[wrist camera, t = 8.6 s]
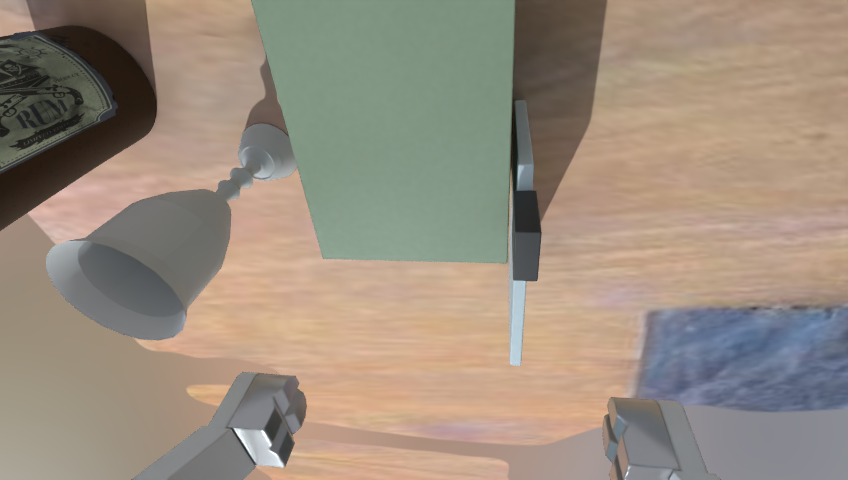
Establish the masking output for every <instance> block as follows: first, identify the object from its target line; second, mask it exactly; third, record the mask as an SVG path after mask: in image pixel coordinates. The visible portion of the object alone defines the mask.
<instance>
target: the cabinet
mask: <svg viewBox="0 0 848 480" xmlns="http://www.w3.org/2000/svg"><path fill="white" fill-rule="evenodd" d="M515 1H516V0H251V2H252V5H253V9H254V12H255V16H256V20H257V23H258V27H259V30H260V34H261V38H262V41H263V45H264V48H265V52H266V56H267V59H268V63H269V66H270V70H271V74H272V77H273V81H274V84H275V88H276V92H277V95H278V99H279V102H280V106H281V110H282V113H283V117H284V120H285V124H286V128H287V131H288V135H289V138H290V142H291V146H292V149H293V153H294V156H295V160H296V164H297V167H298V171H299V174H300V178H301V182H302V185H303V189H304V192H305V196H306V200H307V203H308V207H309V210H310V214H311V218H312V221H313V225H314V228H315V232H316V235H317V239H318V243H319V246H320V250H321V253H322V257H323V259H350V260H389V261H428V262H468V263H507V258H508V226H509V193H510V161H511V129H512V97H513V65H514V33H515Z"/></svg>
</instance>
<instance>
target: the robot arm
mask: <svg viewBox="0 0 848 480" xmlns="http://www.w3.org/2000/svg"><path fill="white" fill-rule="evenodd" d="M298 385H299V382H298V380H297V378H296V376H290V375H277V374H276V375H275V374H264V373H254V372H242V373H241V374H240V375H238V376H237V377H236V379H235V381H234V382H233V384H232V386H231V388H230V389H229V391H228V393H227V394H226V396H225V398H224V399H223V401H222V403H221V404H220V406H219V408H218V410H217V411H216V413H215V415H214V416H213V418H212V420H211V421H210V423H209V425H208V426H202V427H201V428H199V429H198V430H197V431H195V432H194V433H193V434H191V435H190V436H189V437H188V438H186V439H185V440H183V441H182V442H181V443H179V444H178V445H177V446H176V447H174V448H173V449H171V450H170V451H169V452H167V453H166V454H165V455H164V456H162V457H161V458H160V459H158V460H157V461H156V462H154V463H153V464H152V465H150V466H149V467H148V468H146V469H145V470H144V471H142V472H141V473H140V474H138V475H137V476H136V477H134V478H133V479H132V480H244V479H245V478H246V477H247V476H248V475H249V474H250V473H251V471H252V470H254V468H255V467H256V466H255V465H259V466H272V467H285V466H286V464H287V461H288V459H289V456H290V454H291V451H292V449H293V446H294V444H295V442H294V438H293V434H294V433H295V432H296V431H298V430H299V429H300V428H301V426H302V423H303V421H304V418H305V413H306V407H307V405H306V398H305V395H304V393H303V392H301V391H300V390H299V389H297V387H298ZM607 407H608V412H609V414H607V415H605V416H604V421H603V444H604V449H605V455H606V456H607V458H608V459H609V460H610V461H611V462H612V466H611V470H610V473H609V476H610V480H721V479H720V478H719V477H718V476H717V475H715V474H709V473H708V471H707V469H706V466H705V464H704V461H703V458H702V456H701V453H700V450H699V447H698V445H697V442H696V440H695V437H694V434H693V432H692V429H691V426H690V424H689V421H688V418H687V416H686V413H685V410H684V408H683V406H682V405H681V404H680V403H679V402H677V401H660V400H654V399H635V398H616V397H611V398H610V399H609V401H608V405H607Z"/></svg>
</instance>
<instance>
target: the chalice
mask: <svg viewBox="0 0 848 480" xmlns="http://www.w3.org/2000/svg"><path fill="white" fill-rule="evenodd" d="M238 157H239V161H240V163H241V166H242V167H243V168H234V169H232V170H231V172H230V177H231V179H230V180H228V181H227V180H223V181H220V182H219V184H218V190H217V191H216V193H215V192H213V191H210V190H206V189H199V190H189V191H179V192H169V193H165V194H161V195H158V196H154V197H150V198H146V199H142V200H140V201H137V202H135V203H132V204H131V205H129V206H128V207H127V208H125V209H124V210H123V211H121V212H120V213H118V214H117V215H116V216H114V217H113V218H112V219H110V220H109V221H107V222H106V223H105V224H103V225H102V226H101V227H99V228H98V229H96V230H95V231H94V232H92V233H91V234H90V235H88V236H87V237H86V238H82V239H76V240H70V241H66V242H63V243H61V244H58V245H55V246H53V248H52V249H51V250H50V252H49V253H48V255H47V256H46V269H47V272H48V274H49V277H50V279H51V280H52V283H53V285H54V286H55V288H56V289H57V290H58V291H59V292H60V293H61V295H62V296H63V297H64V298H65V299H66V300H67V301H68V302H69V303H70V304H71V305H72V306H74V307H75V308H76V309H77V310H79V311H80V312H81V313H82V314H84V315H85V316H87V317H89V318H90V319H92V320H94V321H95V322H97V323H99V324H100V325H102V326H104V327H106V328H109V329H111V330H113V331H116V332H118V333H121V334H123V335H127V336H130V337H134V338H138V339H144V340H163V339H168V338H172V337H174V336H175V335H177V334H178V333H179V332H181V331H182V330H183V327H184V324H185V320H186V315H187V308H188V307H189V306H190V304H191V303H192V302H193V301H194V300H195V299H196V297H197V296H198V295H199V294H200V293H201V291H202V290H203V289H204V288H205V287H206V285H207V284H208V283H209V282H210V281H211V280H212V278H213V277H214V276H215V275H216V274H217V272H218V271H219V270H220V269H221V267H222V264H223V261H224V258H225V254H226V251H227V247H228V243H229V240H230V227H231V209H230V207H229V205H228V203H227V201H229V200H231V199H237V198H238V197H239V196H240V188H249V187H251V186H252V184H253V178H252V177H254V178H255V179H259V180H263V181H271V180H274V179H279V178H285V177H287V176H289V175H291V174H292V173H293V172H294V171H295V169H296V167H297V164H296V160H295V156H294V153H293V149H292V146H291V142H290V138H289V136H287V135H286V134H285V133H284V132H283V131H282V130H280V129H278V128H277V127H275V126H273V125H268V124H264V123H261V124H254V125H252V126H250V127H248V128H247V129H246V130H245V131H244V133H243V134H242V138H241V143H240V147H239V151H238Z"/></svg>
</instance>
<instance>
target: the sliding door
mask: <svg viewBox="0 0 848 480" xmlns="http://www.w3.org/2000/svg"><path fill="white" fill-rule="evenodd" d="M533 174H534V161H533V153H532V145H531V137H530V129H529V121H528V114H527V106H526V101H525V100H518V101H515V102H514V131H513V160H512V190H511V219H510V249H509V337H510V365H519V366H520V365H521V357H522V342H523V327H524V311H525V296H526V281H537V279H538V268H539V256H540V244H541V225H540V217H539V209H538V200H537V192H536V191H532V189H533Z"/></svg>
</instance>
